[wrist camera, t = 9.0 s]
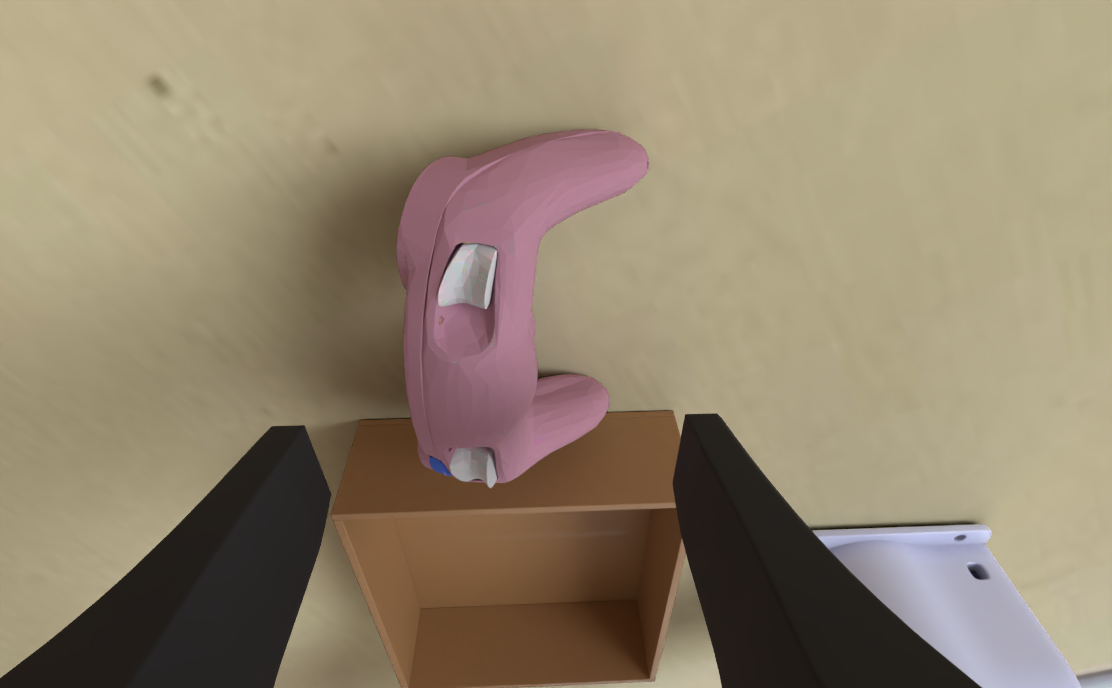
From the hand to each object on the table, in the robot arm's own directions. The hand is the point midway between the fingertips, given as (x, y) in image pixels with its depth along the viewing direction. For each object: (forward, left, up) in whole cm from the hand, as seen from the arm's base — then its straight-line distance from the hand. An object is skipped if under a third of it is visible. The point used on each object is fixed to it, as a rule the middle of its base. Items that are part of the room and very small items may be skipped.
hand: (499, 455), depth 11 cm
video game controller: (0, +1, -8) cm, 8 cm away
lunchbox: (0, +13, -8) cm, 15 cm away
